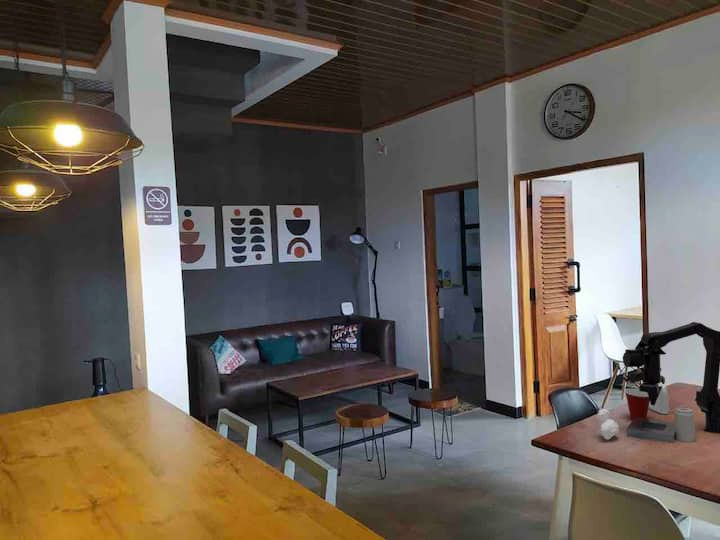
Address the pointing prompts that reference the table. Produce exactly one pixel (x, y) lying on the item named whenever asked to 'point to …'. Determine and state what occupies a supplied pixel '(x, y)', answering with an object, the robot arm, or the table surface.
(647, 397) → the plastic cup
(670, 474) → the table surface
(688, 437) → the beverage can
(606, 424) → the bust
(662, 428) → the jig plate
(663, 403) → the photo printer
